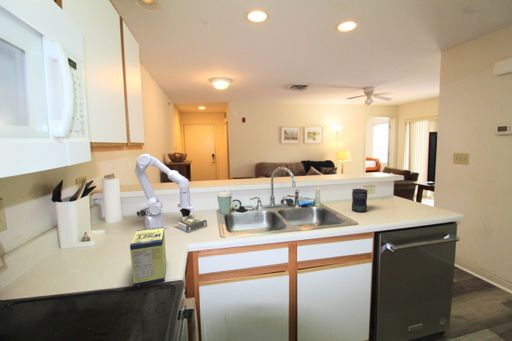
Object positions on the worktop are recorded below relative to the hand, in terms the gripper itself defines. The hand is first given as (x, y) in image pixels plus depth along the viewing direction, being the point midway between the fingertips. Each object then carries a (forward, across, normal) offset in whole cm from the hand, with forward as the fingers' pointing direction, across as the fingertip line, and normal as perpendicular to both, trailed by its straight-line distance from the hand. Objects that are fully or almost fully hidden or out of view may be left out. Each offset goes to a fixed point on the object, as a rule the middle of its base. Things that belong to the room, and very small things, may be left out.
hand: (186, 220), depth 143 cm
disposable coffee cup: (+3, +1, -31) cm, 31 cm away
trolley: (+2, -6, 0) cm, 6 cm away
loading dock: (+4, -3, 0) cm, 5 cm away
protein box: (+3, -37, +38) cm, 53 cm away
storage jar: (+3, -70, -95) cm, 118 cm away
